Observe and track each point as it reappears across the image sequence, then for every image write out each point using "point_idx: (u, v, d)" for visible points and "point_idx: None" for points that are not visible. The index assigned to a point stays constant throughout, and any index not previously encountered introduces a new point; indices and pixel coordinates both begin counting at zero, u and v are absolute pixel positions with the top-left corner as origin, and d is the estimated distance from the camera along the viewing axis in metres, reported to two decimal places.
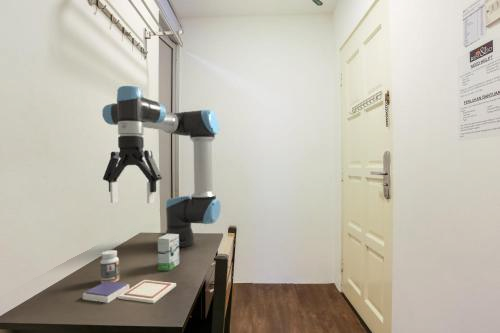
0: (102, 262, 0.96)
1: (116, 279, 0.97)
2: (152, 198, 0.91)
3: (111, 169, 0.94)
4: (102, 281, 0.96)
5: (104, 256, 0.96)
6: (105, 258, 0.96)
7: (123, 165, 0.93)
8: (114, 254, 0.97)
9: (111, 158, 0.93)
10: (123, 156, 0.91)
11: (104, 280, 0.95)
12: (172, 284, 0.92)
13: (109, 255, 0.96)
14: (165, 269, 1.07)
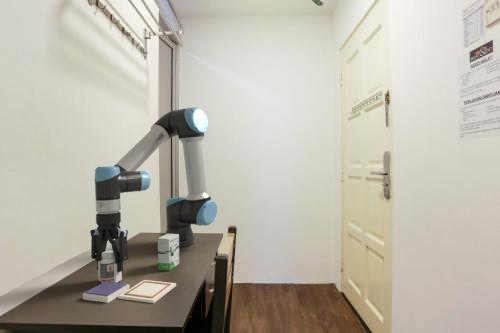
0: (102, 262, 0.96)
1: None
2: (119, 276, 0.97)
3: (96, 246, 0.99)
4: (102, 281, 0.96)
5: (104, 256, 0.96)
6: (105, 258, 0.96)
7: (104, 240, 0.98)
8: None
9: (92, 236, 0.98)
10: (101, 232, 0.96)
11: (104, 280, 0.95)
12: (172, 284, 0.92)
13: (109, 255, 0.96)
14: (165, 269, 1.07)
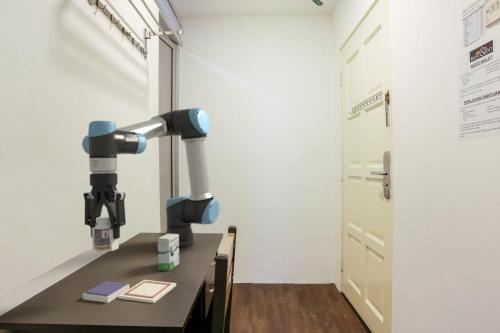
0: (96, 227, 0.85)
1: None
2: (116, 244, 0.87)
3: (90, 211, 0.89)
4: (96, 249, 0.85)
5: (99, 221, 0.86)
6: (100, 223, 0.86)
7: (99, 204, 0.88)
8: None
9: (85, 200, 0.88)
10: (95, 194, 0.86)
11: (98, 247, 0.85)
12: (172, 284, 0.92)
13: (104, 220, 0.86)
14: (165, 269, 1.07)
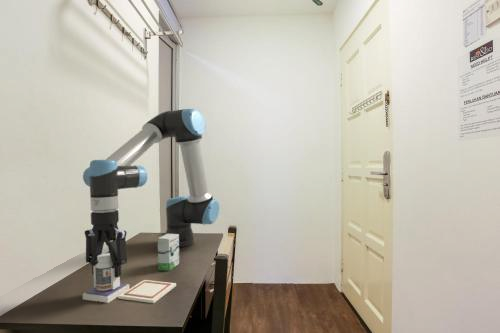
0: (98, 266, 0.86)
1: None
2: (117, 282, 0.87)
3: (91, 248, 0.89)
4: (98, 288, 0.86)
5: (100, 260, 0.86)
6: (101, 262, 0.86)
7: (100, 242, 0.88)
8: None
9: (87, 237, 0.88)
10: (96, 233, 0.86)
11: (100, 286, 0.85)
12: (172, 284, 0.92)
13: (105, 258, 0.86)
14: (165, 269, 1.07)
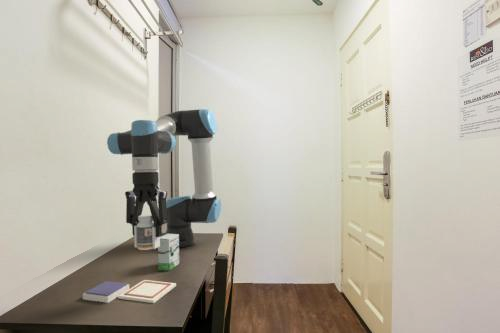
0: (139, 226, 0.86)
1: None
2: (157, 242, 0.88)
3: (131, 209, 0.90)
4: (139, 247, 0.86)
5: (141, 219, 0.87)
6: (142, 221, 0.87)
7: (141, 203, 0.89)
8: None
9: (127, 198, 0.89)
10: (138, 193, 0.87)
11: (142, 245, 0.86)
12: (172, 284, 0.92)
13: (147, 218, 0.87)
14: (165, 269, 1.07)
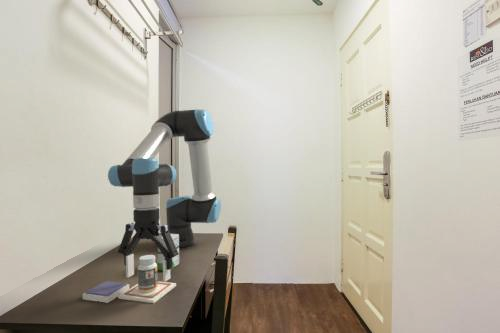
0: (140, 268, 0.87)
1: (155, 287, 0.88)
2: (168, 275, 0.87)
3: (126, 241, 0.91)
4: (140, 289, 0.87)
5: (142, 262, 0.87)
6: (143, 264, 0.87)
7: (139, 238, 0.90)
8: (153, 259, 0.88)
9: (126, 231, 0.90)
10: (139, 230, 0.87)
11: (142, 288, 0.86)
12: (172, 284, 0.92)
13: (148, 261, 0.87)
14: None
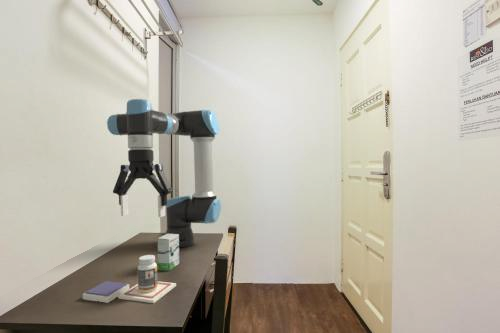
0: (140, 268, 0.87)
1: (155, 287, 0.88)
2: (163, 211, 0.91)
3: (121, 182, 0.94)
4: (140, 289, 0.87)
5: (142, 262, 0.87)
6: (143, 264, 0.87)
7: (133, 178, 0.93)
8: (152, 259, 0.88)
9: (121, 171, 0.93)
10: (133, 170, 0.91)
11: (142, 288, 0.86)
12: (172, 284, 0.92)
13: (147, 261, 0.87)
14: (165, 269, 1.07)
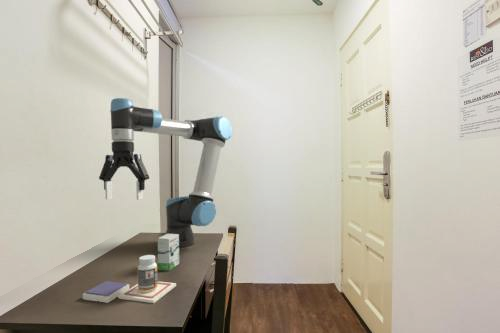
0: (140, 268, 0.87)
1: (155, 287, 0.88)
2: (141, 195, 1.05)
3: (106, 170, 1.08)
4: (140, 289, 0.87)
5: (142, 262, 0.87)
6: (143, 264, 0.87)
7: (116, 166, 1.07)
8: (153, 259, 0.88)
9: (106, 160, 1.07)
10: (116, 159, 1.05)
11: (142, 288, 0.86)
12: (172, 284, 0.92)
13: (148, 260, 0.87)
14: (165, 269, 1.07)
